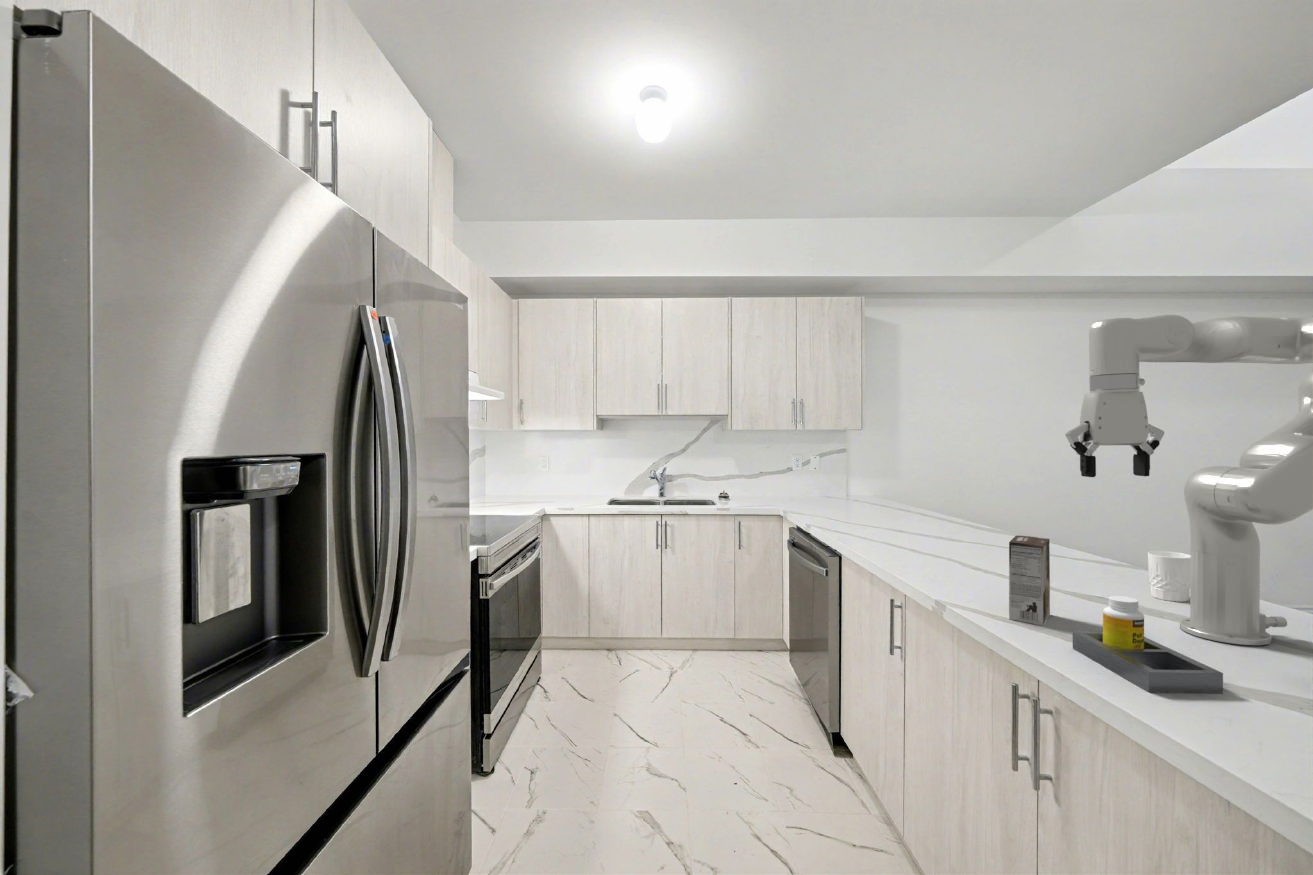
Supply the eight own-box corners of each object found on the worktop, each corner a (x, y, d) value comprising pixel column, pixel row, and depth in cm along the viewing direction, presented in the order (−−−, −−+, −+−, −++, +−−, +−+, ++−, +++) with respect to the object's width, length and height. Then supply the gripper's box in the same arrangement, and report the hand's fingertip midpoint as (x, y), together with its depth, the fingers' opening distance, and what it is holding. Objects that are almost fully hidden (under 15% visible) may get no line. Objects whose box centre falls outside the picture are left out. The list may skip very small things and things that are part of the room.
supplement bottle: (1136, 667, 99) (1136, 605, 99) (1096, 657, 104) (1097, 597, 104) (1149, 660, 103) (1149, 599, 102) (1110, 650, 107) (1111, 592, 107)
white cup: (1138, 595, 141) (1139, 552, 141) (1162, 592, 144) (1163, 549, 144) (1176, 604, 134) (1176, 559, 134) (1201, 600, 136) (1201, 556, 136)
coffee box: (1015, 609, 132) (1015, 534, 131) (1050, 614, 128) (1050, 537, 127) (1007, 619, 125) (1007, 541, 124) (1044, 625, 121) (1044, 544, 120)
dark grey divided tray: (1072, 648, 108) (1072, 631, 108) (1134, 648, 108) (1134, 632, 108) (1148, 692, 90) (1148, 672, 90) (1222, 693, 90) (1222, 673, 90)
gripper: (1146, 385, 118) (1146, 473, 118) (1054, 387, 119) (1055, 475, 119) (1177, 382, 110) (1178, 477, 111) (1079, 385, 111) (1080, 478, 111)
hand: (1114, 476), depth 115 cm, fingers open, 9 cm apart
